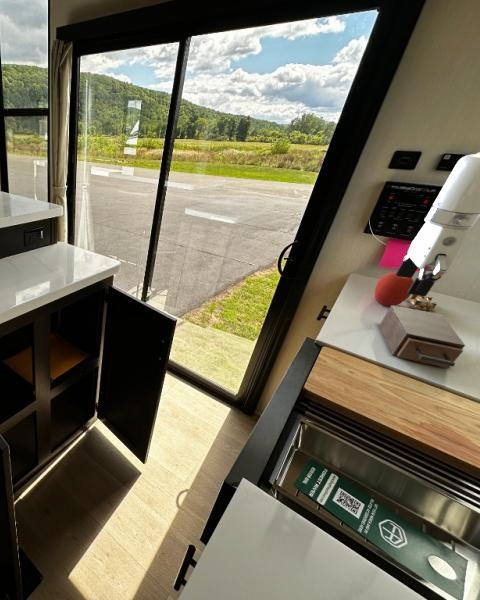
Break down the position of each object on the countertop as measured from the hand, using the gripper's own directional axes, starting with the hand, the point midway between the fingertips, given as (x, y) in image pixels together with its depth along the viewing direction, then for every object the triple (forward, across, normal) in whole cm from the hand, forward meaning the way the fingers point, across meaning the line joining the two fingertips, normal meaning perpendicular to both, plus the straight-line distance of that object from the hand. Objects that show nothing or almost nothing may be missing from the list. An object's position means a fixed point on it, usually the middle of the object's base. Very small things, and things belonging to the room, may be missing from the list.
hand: (409, 285), depth 78 cm
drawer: (+28, +16, -17) cm, 36 cm away
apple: (+29, +46, -16) cm, 57 cm away
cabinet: (+29, +20, -17) cm, 39 cm away
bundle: (+29, +49, -27) cm, 63 cm away
